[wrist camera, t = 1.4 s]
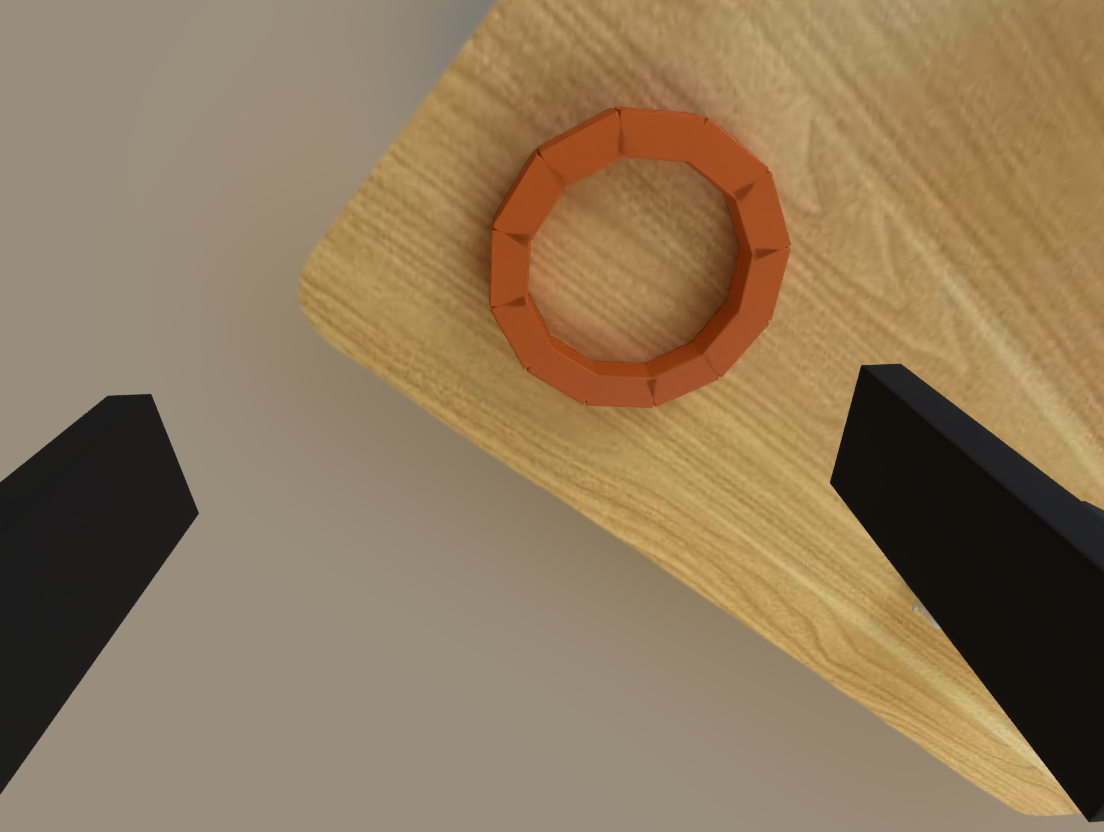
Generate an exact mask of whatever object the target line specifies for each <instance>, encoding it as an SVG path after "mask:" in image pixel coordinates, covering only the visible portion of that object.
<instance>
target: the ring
mask: <svg viewBox="0 0 1104 832" xmlns="http://www.w3.org/2000/svg"><path fill="white" fill-rule="evenodd" d="M538 150H539V152H538V151H537V150H535V151H534V152H533V153H532V155H531V157H530V158H529V160H528V162H527V163H526V165H525V167H524V168H523V170H522V172H521V173H520V175H519V176H518V178H517V180H516V181H515V183H514V185H513V186H512V188H511V190H510V191H509V193H508V195H507V196H506V198H505V199H504V201H503V203H502V204H501V206H500V208H499V209H498V211H497V213H496V214H495V216H494V218H493V222H492V227H491V252H490V296H489V305H490V306H491V312H492V314H493V315H494V317H495V319H496V321H497V322H498V324H499V326H500V328H501V329H502V331H503V333H504V335H505V336H506V338H507V340H508V342H509V343H510V345H511V347H512V349H513V350H514V352H515V354H516V356H517V358H518V359H519V361H520V363H521V365H522V366H523V368H524V369H526V368H527V372H529V373H530V374H532V375H534V376H535V377H537V378H539V379H541V380H542V381H544V382H546V383H548V384H549V385H551V386H553V387H554V388H556V389H558V390H560V391H561V392H563V393H565V394H567V395H568V396H570V397H572V398H573V399H575V400H577V401H579V402H580V403H582V404H584V403H585V402H586V405H590V406H617V407H644V408H653V404H654V405H655V406H659V405H661V404H663V403H666V402H668V401H670V400H673V399H675V398H677V397H680V396H682V395H684V394H686V393H689V392H691V391H693V390H696V389H698V388H700V387H703V386H705V385H707V384H709V383H712V382H714V381H716V380H718V376H720V377H722V376H723V375H724V374H725V373H726V372H727V371H728V370H729V369H730V367H731V366H732V365H733V364H734V363H735V362H736V361H737V360H738V358H739V357H740V356H741V355H742V354H743V353H744V352H745V351H746V349H747V348H748V347H749V346H750V345H751V344H752V343H753V342H754V340H755V339H756V338H757V337H758V336H759V335H760V334H761V333H762V331H763V330H764V329H765V328H766V327H767V326H768V325H769V322H768V321H767V320H771V319H772V316H773V312H774V308H775V305H776V301H777V297H778V294H779V290H780V286H781V282H782V279H783V275H784V271H785V268H786V264H787V260H788V257H789V253H790V248H789V247H788V246H790V245H791V243H790V240H789V236H788V232H787V229H786V225H785V221H784V217H783V214H782V210H781V206H780V203H779V199H778V195H777V192H776V188H775V184H774V181H773V177H772V173H771V172H770V171H768V167H767V166H766V165H764V164H763V163H762V162H761V161H760V160H758V159H757V158H756V157H755V156H754V155H753V154H751V153H750V152H749V151H748V150H747V149H745V148H744V147H743V146H742V145H741V144H739V143H738V142H737V141H736V140H735V139H734V138H732V137H731V136H730V135H729V134H728V133H726V132H725V131H724V130H723V129H722V128H720V127H719V126H718V125H717V124H716V123H715V122H713V121H712V120H711V119H710V118H707V117H705V116H702V115H698V114H694V113H684V112H671V111H659V110H647V109H634V108H622V107H615V108H614V109H611V108H610V109H608V110H606V111H604V112H602V113H600V114H598V115H596V116H595V117H593V118H591V119H589V120H587V121H585V122H583V123H582V124H580V125H578V126H576V127H574V128H572V129H570V130H569V131H567V132H565V133H563V134H561V135H559V136H557V137H555V138H554V139H552V140H550V141H548V142H546V143H544V144H542V145H541V146H539V147H538ZM623 157H629V158H643V159H657V160H670V161H684V162H686V163H687V164H688V165H689V166H691V167H692V168H693V169H694V170H696V171H697V172H698V173H699V174H701V175H702V176H703V177H704V178H706V179H707V180H708V181H709V182H711V183H712V184H713V185H714V186H716V187H717V188H718V189H720V190H721V191H722V192H723V194H724V197H725V200H726V203H727V206H728V210H729V213H730V216H731V219H732V222H733V225H734V228H735V232H736V235H737V238H738V241H739V244H740V248H739V252H738V257H737V261H736V266H735V270H734V274H733V279H732V283H731V287H730V292H729V296H728V300H727V301H726V302H725V304H724V305H723V306H722V307H721V308H720V310H719V311H718V312H717V313H716V314H715V316H714V317H713V318H712V319H711V320H710V321H709V323H708V324H707V325H706V326H705V327H704V329H703V330H702V331H701V332H700V333H699V335H698V336H697V337H696V338H695V339H694V341H693V342H691V343H689V344H686V345H684V346H682V347H680V348H678V349H675V350H673V351H671V352H669V353H667V354H664V355H662V356H660V357H658V358H655V359H653V360H651V361H649V362H647V363H626V362H603V361H592V360H590V359H589V358H587V357H585V356H584V355H582V354H581V353H579V352H577V351H576V350H574V349H572V348H571V347H569V346H568V345H566V344H564V343H563V342H561V341H559V340H558V339H556V338H554V337H553V336H551V335H550V333H549V331H548V329H547V327H546V325H545V323H544V321H543V319H542V317H541V315H540V314H539V312H538V310H537V308H536V306H535V304H534V302H533V300H532V298H531V296H530V294H529V293H528V280H529V262H530V244H531V240H532V239H533V237H534V235H535V234H536V232H537V231H538V229H539V228H540V226H541V225H542V223H543V222H544V220H545V218H546V217H547V215H548V214H549V212H550V211H551V209H552V208H553V206H554V205H555V203H556V202H557V200H558V198H559V197H560V195H561V194H562V192H563V191H564V189H565V188H566V187H567V186H569V185H571V184H573V183H575V182H577V181H579V180H581V179H583V178H585V177H587V176H589V175H591V174H592V173H594V172H596V171H598V170H600V169H602V168H604V167H606V166H608V165H610V164H612V163H614V162H616V161H618V160H619V159H621V158H623Z"/></svg>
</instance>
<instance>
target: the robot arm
mask: <svg viewBox="0 0 1104 832" xmlns="http://www.w3.org/2000/svg"><path fill="white" fill-rule="evenodd" d="M830 484H831V485H832V486H833V488H834V489H835V490H836V492H837V493H838V494H839V496H840V497H841V498H842V500H843V501H844V502H845V503H846V505H847V506H848V507H849V509H850V510H851V511H852V513H853V514H854V515H855V517H856V518H857V519H858V520H859V522H860V523H861V524H862V526H863V527H864V528H865V530H866V531H867V532H868V534H869V535H870V536H871V538H872V539H873V540H874V541H875V543H876V544H877V545H878V547H879V548H880V549H881V551H882V552H883V553H884V555H885V556H886V557H887V558H888V560H889V561H890V562H891V564H892V565H893V566H894V568H895V569H896V570H897V572H898V573H899V574H900V575H901V577H902V578H903V579H904V581H905V582H906V583H907V585H908V586H909V587H910V589H911V590H912V591H913V593H914V594H915V595H916V596H917V598H918V599H919V600H920V602H921V603H922V604H923V606H924V607H925V608H926V610H927V611H928V612H929V613H930V615H931V616H932V617H933V619H934V620H935V621H936V623H937V624H938V625H939V627H940V628H941V629H942V630H943V632H944V633H945V634H946V636H947V637H948V638H949V640H950V641H951V642H952V644H953V645H954V646H955V647H956V649H957V650H958V651H959V653H960V654H961V655H962V657H963V658H964V659H965V661H966V662H967V663H968V665H969V666H970V667H971V668H972V670H973V671H974V672H975V674H976V675H977V676H978V678H979V679H980V680H981V682H982V683H983V684H984V685H985V687H986V688H987V689H988V691H989V692H990V693H991V695H992V696H993V697H994V699H995V700H996V701H997V702H998V704H999V705H1000V706H1001V708H1002V709H1003V710H1004V712H1005V713H1006V714H1007V716H1008V717H1009V718H1010V719H1011V721H1012V722H1013V723H1014V725H1015V726H1016V727H1017V729H1018V730H1019V731H1020V733H1021V734H1022V735H1023V737H1024V738H1025V739H1026V740H1027V742H1028V743H1029V744H1030V746H1031V747H1032V748H1033V750H1034V751H1035V752H1036V754H1037V755H1038V756H1039V757H1040V759H1041V760H1042V761H1043V763H1044V764H1045V765H1046V767H1047V768H1048V769H1049V771H1050V772H1051V773H1052V774H1053V776H1054V777H1055V778H1056V780H1057V781H1058V782H1059V784H1060V785H1061V786H1062V788H1063V789H1064V790H1065V792H1066V793H1067V794H1068V795H1069V797H1070V798H1071V799H1072V801H1073V802H1074V803H1075V805H1076V806H1077V807H1078V809H1079V810H1080V811H1081V812H1082V814H1083V815H1084V816H1085V818H1086V819H1087V820H1088V821H1089V822H1099V821H1104V510H1102V509H1100V508H1098V507H1096V506H1094V505H1092V504H1090V503H1088V502H1086V501H1080V500H1079V499H1078V498H1076V497H1075V496H1074V495H1072V494H1071V493H1070V492H1068V491H1067V490H1066V489H1064V488H1063V487H1062V486H1060V485H1059V484H1058V483H1057V482H1055V481H1054V480H1053V479H1051V478H1050V477H1049V476H1047V475H1046V474H1045V473H1043V472H1042V471H1041V470H1039V469H1038V468H1037V467H1036V466H1034V465H1033V464H1032V463H1030V462H1029V461H1028V460H1026V459H1025V458H1024V457H1022V456H1021V455H1020V454H1018V453H1017V452H1016V451H1015V450H1013V449H1012V448H1011V447H1009V446H1008V445H1007V444H1005V443H1004V442H1003V441H1001V440H1000V439H999V438H997V437H996V436H995V435H994V434H992V433H991V432H990V431H988V430H987V429H986V428H984V427H983V426H982V425H980V424H979V423H978V422H976V421H975V420H974V419H973V418H971V417H970V416H969V415H967V414H966V413H965V412H963V411H962V410H961V409H959V408H958V407H957V406H955V405H954V404H953V403H952V402H950V401H949V400H948V399H946V398H945V397H944V396H942V395H941V394H940V393H938V392H937V391H936V390H934V389H933V388H932V387H931V386H929V385H928V384H927V383H925V382H924V381H923V380H921V379H920V378H919V377H917V376H916V375H915V374H913V373H912V372H911V371H910V370H908V369H907V368H906V367H904V366H903V365H902V364H882V365H861V368H860V372H859V376H858V379H857V383H856V387H855V391H854V394H853V398H852V402H851V406H850V409H849V413H848V417H847V421H846V424H845V428H844V432H843V436H842V439H841V443H840V447H839V451H838V454H837V458H836V462H835V466H834V469H833V473H832V477H831V481H830ZM198 514H199V513H198V510H197V507H196V505H195V502H194V500H193V497H192V495H191V492H190V490H189V487H188V485H187V483H186V480H185V478H184V475H183V472H182V470H181V468H180V465H179V462H178V460H177V457H176V455H175V452H174V450H173V447H172V445H171V443H170V440H169V438H168V435H167V432H166V430H165V428H164V426H163V423H162V420H161V417H160V415H159V413H158V410H157V407H156V405H155V402H154V400H153V397H152V395H151V394H142V395H140V394H139V395H117V396H116V395H115V396H107V397H106V398H104V399H103V400H102V401H101V402H99V403H98V404H97V405H96V406H94V407H93V408H92V409H91V410H89V411H88V412H87V413H86V414H84V415H83V416H82V417H81V418H79V419H78V420H77V421H76V422H75V423H73V424H72V425H71V426H70V427H68V428H67V429H66V430H65V431H63V432H62V433H61V434H60V435H58V436H57V437H56V438H55V439H53V440H52V441H51V442H50V443H48V444H47V445H46V446H45V447H43V448H42V449H41V450H40V451H39V452H38V453H36V454H35V455H34V456H33V457H31V458H30V459H29V460H27V461H26V462H25V463H24V464H23V465H21V466H20V467H19V468H17V469H16V470H15V471H14V472H12V473H11V474H10V475H9V476H8V477H6V478H5V479H4V480H3V481H1V482H0V794H1V793H2V791H3V790H4V788H5V787H6V786H7V784H8V782H9V781H10V780H11V779H12V777H13V776H14V774H15V773H16V771H17V770H18V769H19V767H20V766H21V764H22V763H23V761H24V760H25V759H26V757H27V756H28V755H29V753H30V752H31V750H32V749H33V747H34V746H35V745H36V743H37V742H38V740H39V739H40V738H41V736H42V735H43V733H44V732H45V730H46V729H47V728H48V726H49V725H50V723H51V722H52V721H53V719H54V718H55V716H56V715H57V713H58V712H59V711H60V709H61V708H62V706H63V705H64V704H65V702H66V701H67V699H68V698H69V696H70V695H71V694H72V692H73V691H74V689H75V688H76V687H77V685H78V684H79V682H80V681H81V680H82V678H83V677H84V675H85V674H86V672H87V671H88V670H89V668H90V667H91V665H92V664H93V663H94V661H95V660H96V658H97V657H98V655H99V654H100V653H101V651H102V650H103V648H104V647H105V645H106V644H107V643H108V641H109V640H110V638H111V637H112V636H113V634H114V633H115V631H116V630H117V628H118V627H119V625H120V624H121V623H122V622H123V620H124V619H125V617H126V616H127V614H128V613H129V612H130V610H131V609H132V607H133V606H134V604H135V603H136V602H137V600H138V599H139V597H140V596H141V595H142V593H143V592H144V590H145V589H146V588H147V586H148V585H149V583H150V582H151V581H152V579H153V578H154V576H155V575H156V573H157V572H158V571H159V569H160V568H161V566H162V565H163V564H164V562H165V561H166V559H167V558H168V556H169V555H170V554H171V552H172V551H173V549H174V548H175V547H176V545H177V544H178V542H179V541H180V539H181V538H182V537H183V535H184V534H185V532H186V531H187V529H188V528H189V526H190V525H191V524H192V522H193V521H194V520H195V518H196V517H197V515H198Z"/></svg>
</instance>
